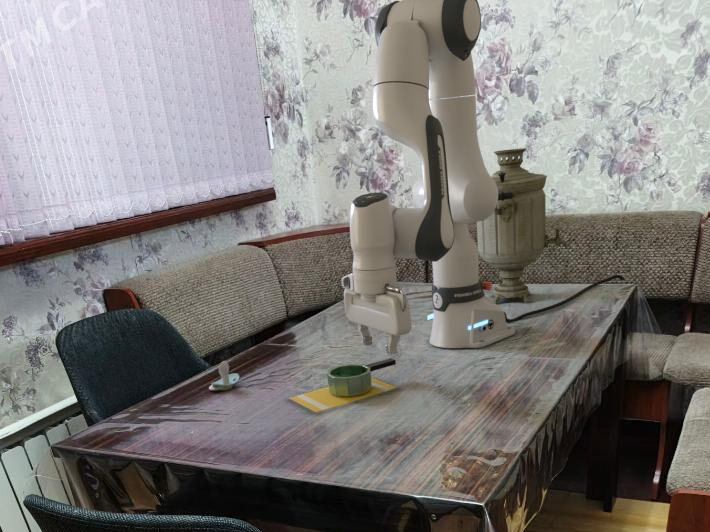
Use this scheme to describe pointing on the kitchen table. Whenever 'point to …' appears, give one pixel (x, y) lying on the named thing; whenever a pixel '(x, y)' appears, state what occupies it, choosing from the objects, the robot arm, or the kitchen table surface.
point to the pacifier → (224, 378)
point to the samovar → (515, 225)
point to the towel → (336, 397)
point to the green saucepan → (354, 378)
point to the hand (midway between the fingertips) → (379, 348)
